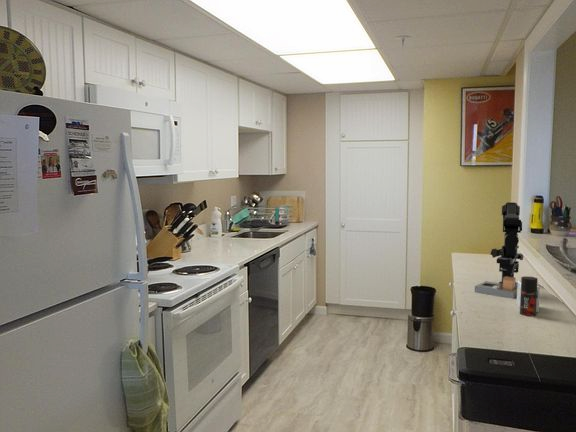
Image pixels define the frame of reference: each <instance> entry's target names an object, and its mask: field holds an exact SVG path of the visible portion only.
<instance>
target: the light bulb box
mask: <svg viewBox="0 0 576 432" xmlns="http://www.w3.org/2000/svg"><path fill="white" fill-rule="evenodd" d="M516 283H517V284H516V286H517V297H516V306H517V308H519V309H520V298H521V280H517V282H516ZM540 289H541V287H540V286H539V285H538V284H537V301H536V313H539V311H540Z"/></svg>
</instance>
